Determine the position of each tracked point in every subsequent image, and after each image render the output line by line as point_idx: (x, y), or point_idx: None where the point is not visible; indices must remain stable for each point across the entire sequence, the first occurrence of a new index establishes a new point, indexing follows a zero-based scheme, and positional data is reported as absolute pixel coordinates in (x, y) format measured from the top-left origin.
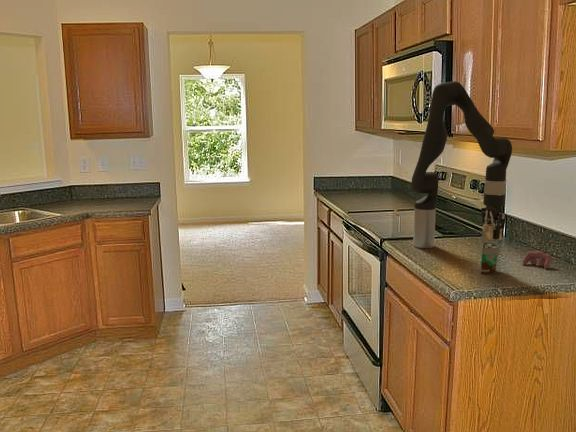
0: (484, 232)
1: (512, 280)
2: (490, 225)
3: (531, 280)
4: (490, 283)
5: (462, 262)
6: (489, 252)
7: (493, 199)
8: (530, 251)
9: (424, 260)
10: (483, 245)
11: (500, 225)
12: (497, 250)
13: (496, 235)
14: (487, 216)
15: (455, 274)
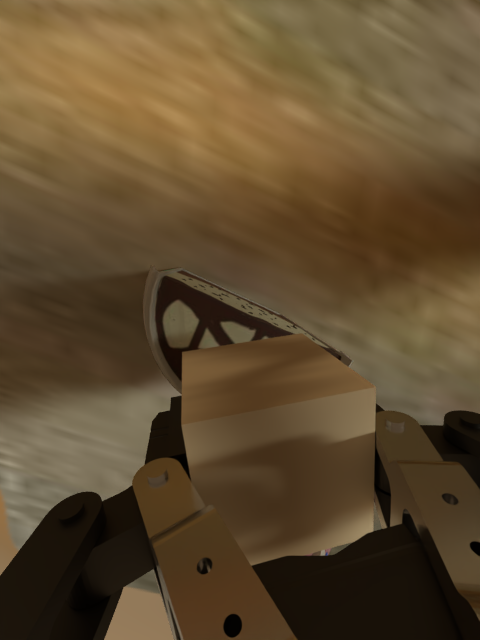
0: (287, 358)
1: (65, 367)
2: (299, 465)
3: (68, 442)
4: (7, 246)
5: (363, 255)
6: (143, 318)
7: None
8: (318, 552)
9: (435, 69)
10: (335, 350)
11: (79, 586)
12: (171, 383)
13: (152, 435)
14: (435, 553)
15: (173, 127)
